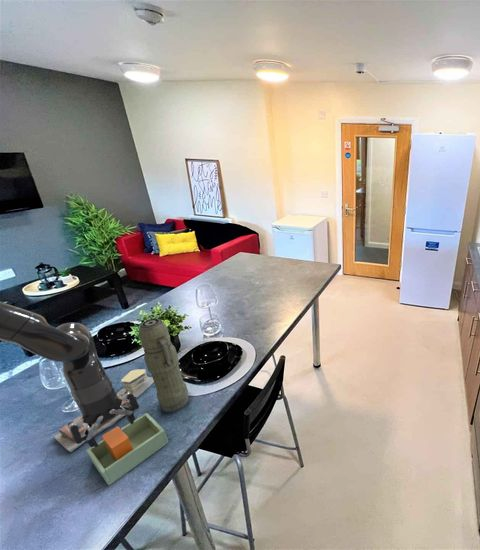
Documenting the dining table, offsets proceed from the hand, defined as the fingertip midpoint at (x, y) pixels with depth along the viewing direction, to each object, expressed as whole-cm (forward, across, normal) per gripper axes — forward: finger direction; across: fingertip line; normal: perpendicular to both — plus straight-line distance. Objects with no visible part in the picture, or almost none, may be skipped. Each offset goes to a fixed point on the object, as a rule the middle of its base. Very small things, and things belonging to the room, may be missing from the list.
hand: (114, 433), depth 83 cm
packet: (+10, 0, 0) cm, 10 cm away
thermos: (+11, -19, -8) cm, 23 cm away
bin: (+10, -2, 0) cm, 10 cm away
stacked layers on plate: (+11, -15, -28) cm, 34 cm away
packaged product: (+10, 0, -20) cm, 23 cm away
